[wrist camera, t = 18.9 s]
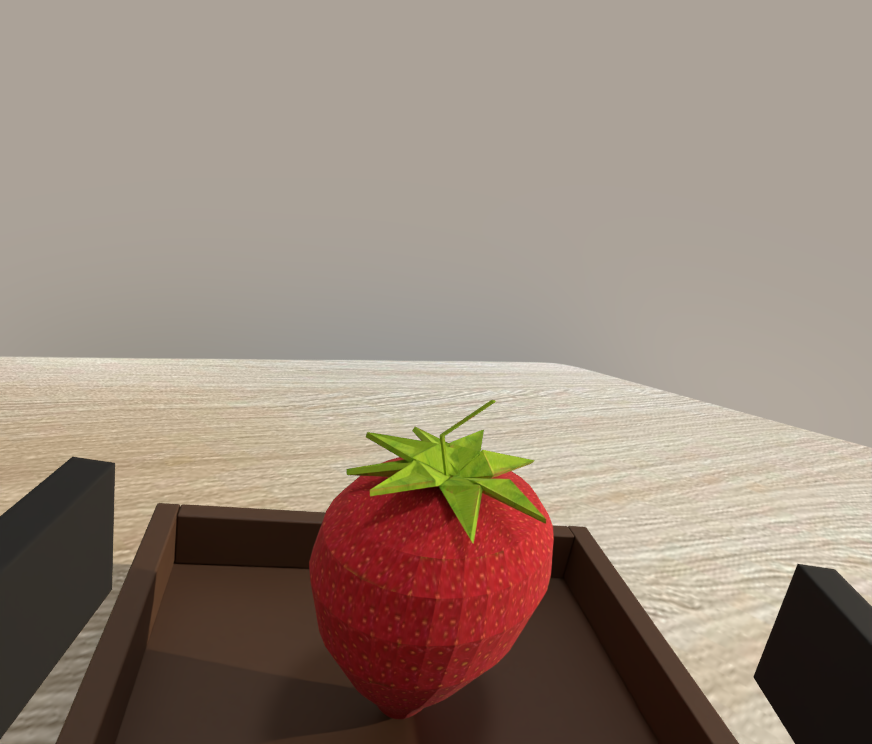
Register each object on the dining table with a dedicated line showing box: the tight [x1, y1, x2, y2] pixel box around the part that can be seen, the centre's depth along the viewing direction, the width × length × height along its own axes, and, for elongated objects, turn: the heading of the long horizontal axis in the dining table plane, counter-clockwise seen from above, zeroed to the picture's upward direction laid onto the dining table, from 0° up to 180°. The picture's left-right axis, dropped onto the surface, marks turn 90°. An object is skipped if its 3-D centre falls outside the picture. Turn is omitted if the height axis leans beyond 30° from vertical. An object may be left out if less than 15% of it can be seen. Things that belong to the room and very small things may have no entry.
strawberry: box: [309, 400, 554, 719], centre depth 18 cm, size 6×8×10 cm
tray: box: [56, 503, 739, 744], centre depth 19 cm, size 17×15×3 cm
